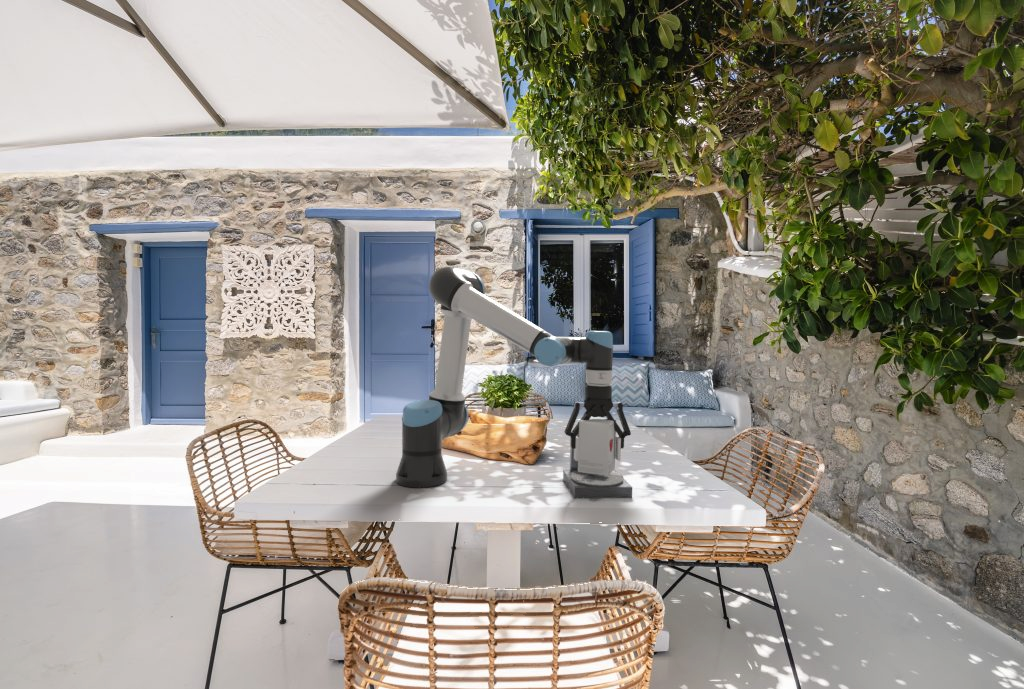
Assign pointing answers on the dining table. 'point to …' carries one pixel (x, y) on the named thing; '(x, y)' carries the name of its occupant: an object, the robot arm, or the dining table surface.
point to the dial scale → (595, 482)
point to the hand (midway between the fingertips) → (596, 459)
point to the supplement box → (596, 446)
